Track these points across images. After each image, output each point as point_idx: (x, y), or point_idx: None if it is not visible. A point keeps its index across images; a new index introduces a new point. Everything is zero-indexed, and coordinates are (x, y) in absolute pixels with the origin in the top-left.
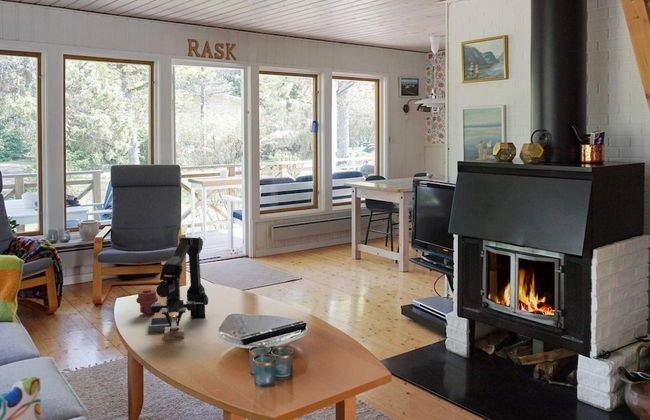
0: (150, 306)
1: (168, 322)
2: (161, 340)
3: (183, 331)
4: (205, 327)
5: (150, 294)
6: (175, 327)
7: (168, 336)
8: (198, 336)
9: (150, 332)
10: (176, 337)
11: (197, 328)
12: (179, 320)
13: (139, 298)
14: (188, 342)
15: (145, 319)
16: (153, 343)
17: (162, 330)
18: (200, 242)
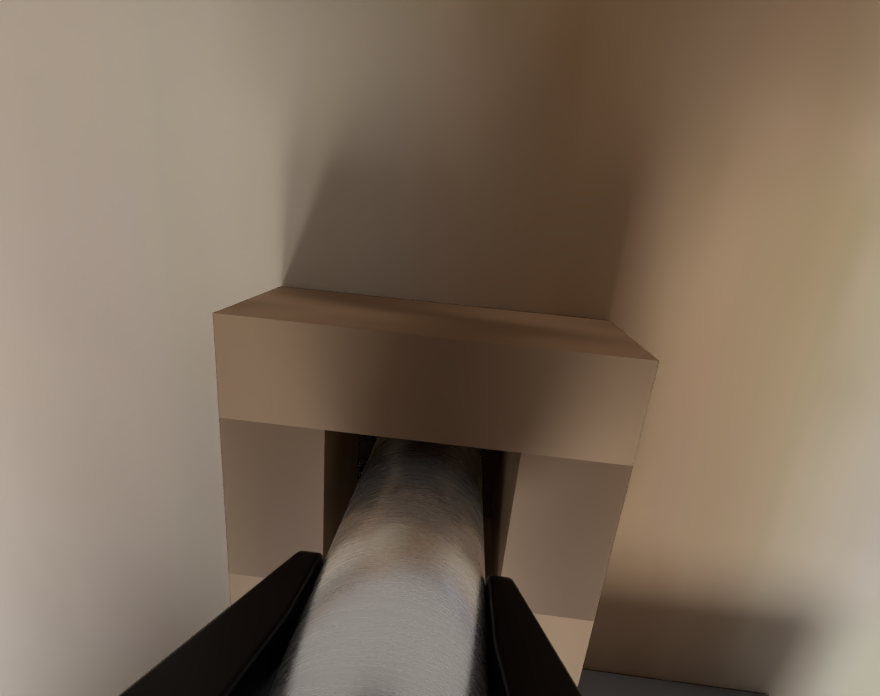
0: None
1: (573, 683)
2: (670, 310)
3: (219, 325)
4: (9, 626)
5: None
6: (378, 506)
7: (552, 326)
8: (49, 304)
9: (749, 693)
10: (402, 304)
11: (108, 627)
12: (168, 671)
13: None
14: (192, 18)
15: None
16: (855, 188)
17: (582, 687)
18: None
